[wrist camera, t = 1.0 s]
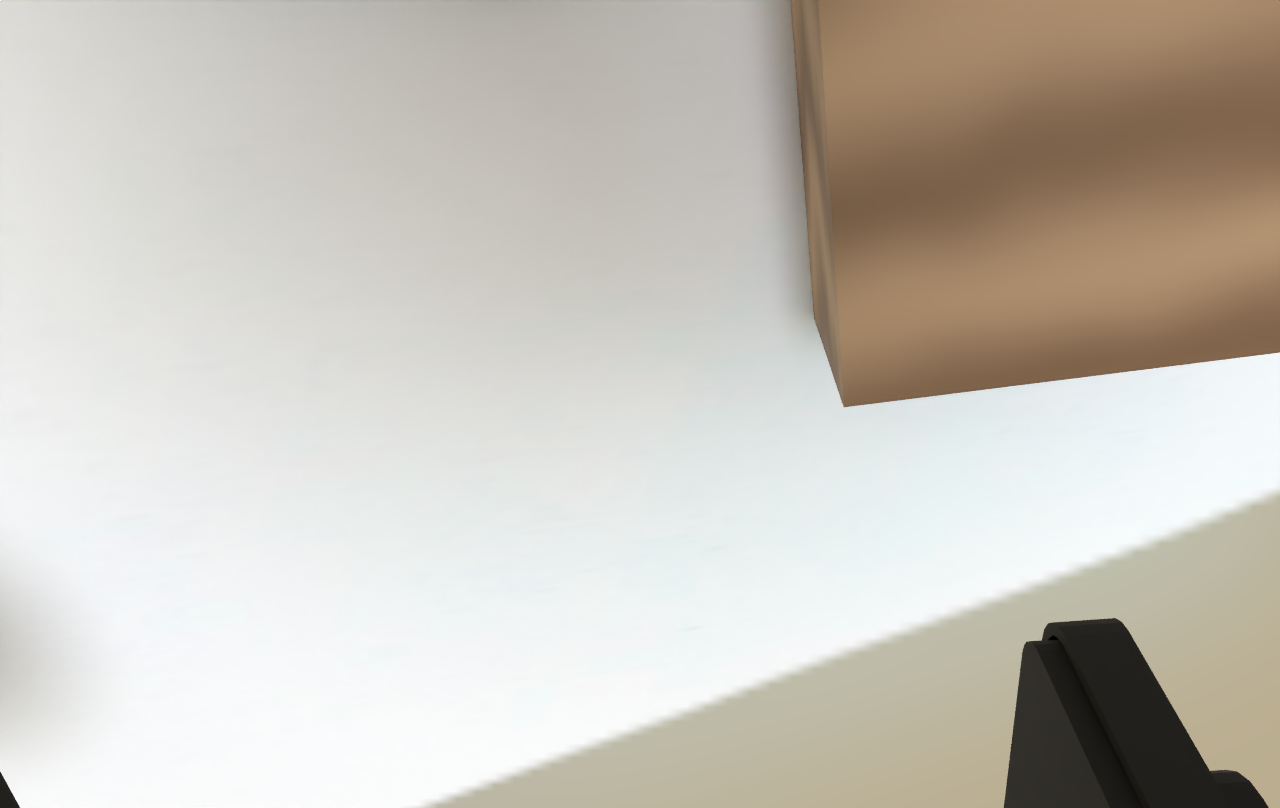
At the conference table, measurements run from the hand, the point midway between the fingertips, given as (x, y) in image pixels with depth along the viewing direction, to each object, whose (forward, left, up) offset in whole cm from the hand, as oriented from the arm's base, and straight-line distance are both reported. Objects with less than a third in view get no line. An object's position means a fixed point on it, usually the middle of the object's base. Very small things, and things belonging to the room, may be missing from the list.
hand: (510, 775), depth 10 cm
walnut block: (+1, +12, -25) cm, 28 cm away
